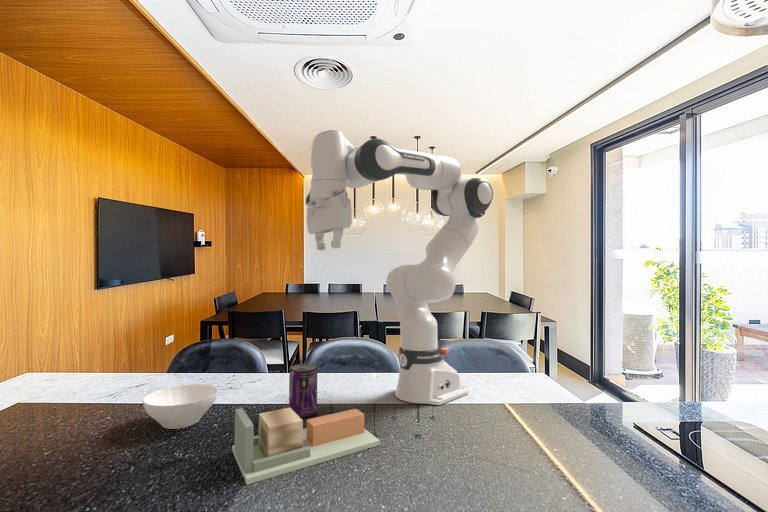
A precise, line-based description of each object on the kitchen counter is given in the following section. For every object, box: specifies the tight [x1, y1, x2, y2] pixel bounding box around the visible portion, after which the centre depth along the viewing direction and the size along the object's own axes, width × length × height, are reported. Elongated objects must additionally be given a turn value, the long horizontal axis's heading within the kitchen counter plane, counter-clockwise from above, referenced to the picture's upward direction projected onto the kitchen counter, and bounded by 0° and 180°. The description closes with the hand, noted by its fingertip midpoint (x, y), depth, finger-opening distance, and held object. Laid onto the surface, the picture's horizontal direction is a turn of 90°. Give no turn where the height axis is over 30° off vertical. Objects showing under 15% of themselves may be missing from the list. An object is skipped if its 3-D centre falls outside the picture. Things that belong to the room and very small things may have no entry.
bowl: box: [142, 383, 219, 430], centre depth 88 cm, size 16×16×7 cm
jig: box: [231, 407, 381, 486], centre depth 75 cm, size 27×14×9 cm, turn 122°
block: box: [258, 406, 304, 457], centre depth 72 cm, size 6×8×6 cm
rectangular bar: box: [305, 408, 365, 446], centre depth 79 cm, size 12×4×4 cm, turn 122°
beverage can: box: [288, 363, 318, 418], centre depth 94 cm, size 7×7×12 cm
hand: (328, 249), depth 91 cm, fingers open, 8 cm apart
